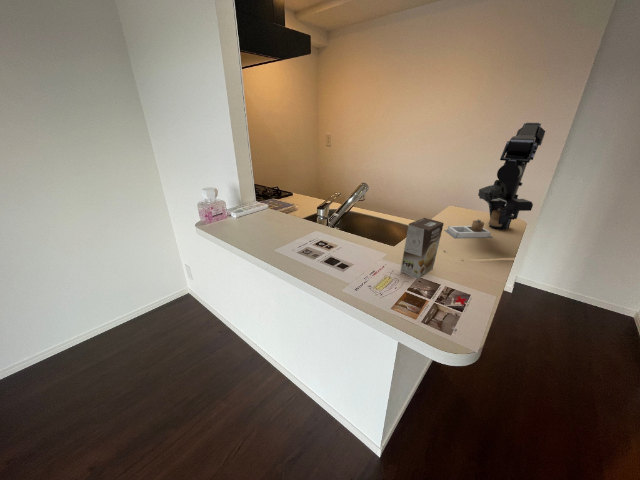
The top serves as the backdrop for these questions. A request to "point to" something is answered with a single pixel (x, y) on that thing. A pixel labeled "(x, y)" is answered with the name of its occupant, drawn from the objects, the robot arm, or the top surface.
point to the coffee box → (421, 247)
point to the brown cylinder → (495, 218)
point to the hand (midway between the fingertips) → (495, 221)
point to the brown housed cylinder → (477, 226)
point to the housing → (466, 232)
